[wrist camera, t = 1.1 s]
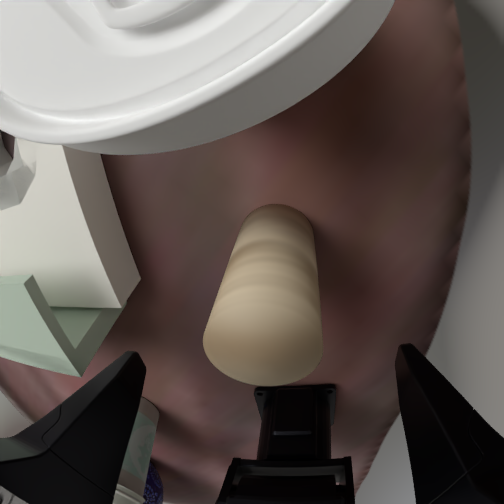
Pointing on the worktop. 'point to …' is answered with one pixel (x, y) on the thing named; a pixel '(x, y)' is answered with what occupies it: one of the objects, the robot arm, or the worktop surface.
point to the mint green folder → (49, 328)
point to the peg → (268, 302)
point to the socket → (63, 226)
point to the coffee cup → (137, 456)
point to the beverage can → (167, 66)
